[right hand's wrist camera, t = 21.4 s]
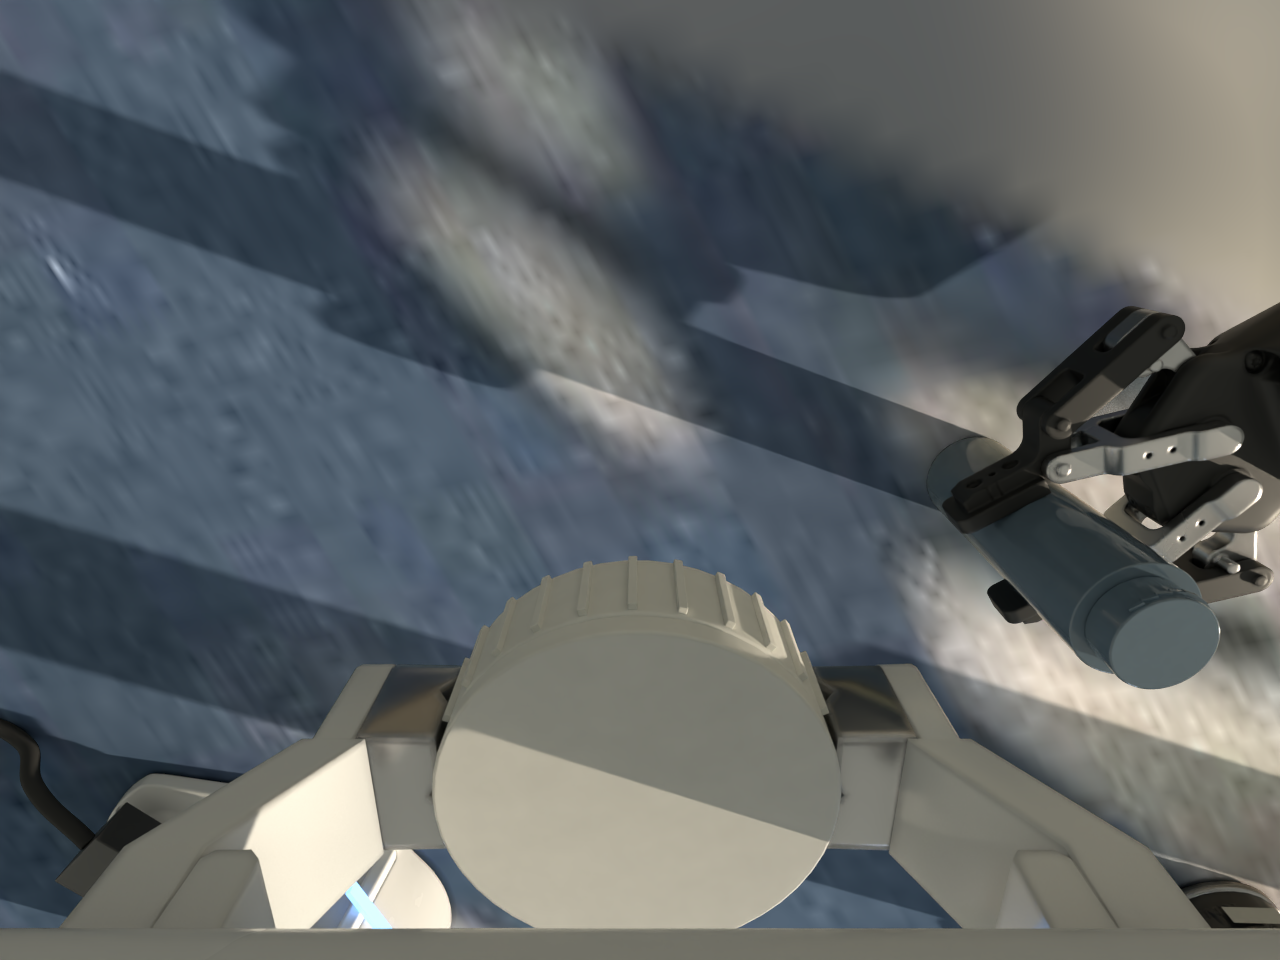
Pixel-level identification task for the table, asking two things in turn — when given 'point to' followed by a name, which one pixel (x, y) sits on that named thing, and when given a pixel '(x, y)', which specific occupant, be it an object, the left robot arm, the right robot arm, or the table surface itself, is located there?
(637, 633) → the lid
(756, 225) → the table surface
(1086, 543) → the dark grey cylinder
